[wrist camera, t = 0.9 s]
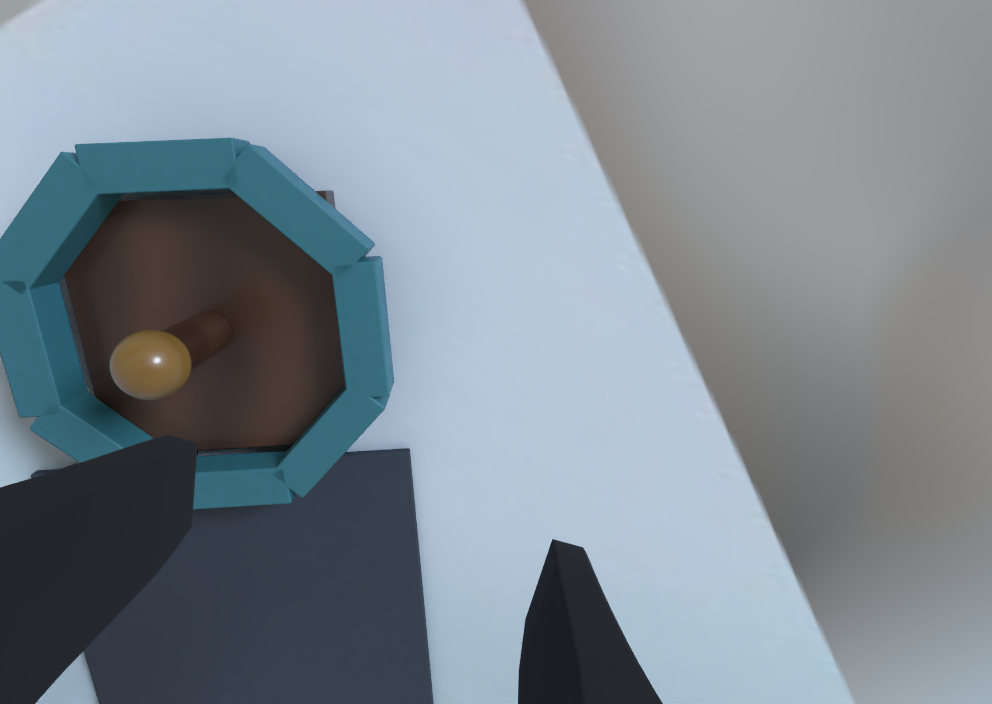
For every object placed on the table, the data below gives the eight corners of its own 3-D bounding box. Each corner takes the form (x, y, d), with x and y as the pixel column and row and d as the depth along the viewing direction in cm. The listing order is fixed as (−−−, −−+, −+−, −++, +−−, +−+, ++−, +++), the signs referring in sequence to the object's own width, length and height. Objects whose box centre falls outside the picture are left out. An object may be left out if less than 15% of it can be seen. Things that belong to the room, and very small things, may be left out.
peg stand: (126, 443, 25) (6, 534, 18) (67, 202, 22) (-100, 209, 15) (361, 429, 25) (324, 514, 19) (333, 190, 22) (278, 192, 16)
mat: (120, 753, 29) (116, 761, 29) (37, 470, 25) (29, 474, 24) (436, 729, 30) (435, 736, 29) (409, 447, 25) (408, 451, 25)
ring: (75, 498, 24) (48, 519, 22) (-21, 152, 20) (-62, 149, 19) (403, 477, 24) (399, 497, 23) (370, 136, 21) (362, 132, 19)
